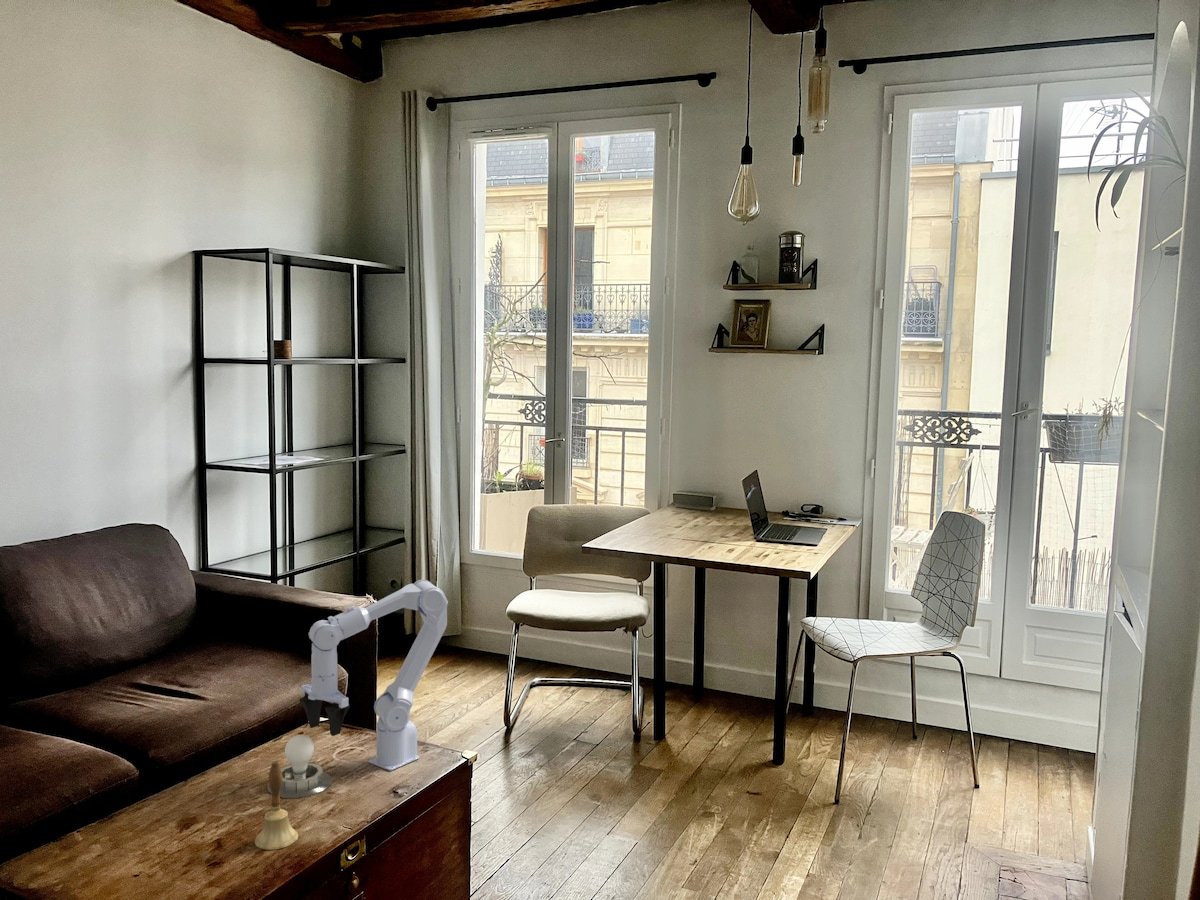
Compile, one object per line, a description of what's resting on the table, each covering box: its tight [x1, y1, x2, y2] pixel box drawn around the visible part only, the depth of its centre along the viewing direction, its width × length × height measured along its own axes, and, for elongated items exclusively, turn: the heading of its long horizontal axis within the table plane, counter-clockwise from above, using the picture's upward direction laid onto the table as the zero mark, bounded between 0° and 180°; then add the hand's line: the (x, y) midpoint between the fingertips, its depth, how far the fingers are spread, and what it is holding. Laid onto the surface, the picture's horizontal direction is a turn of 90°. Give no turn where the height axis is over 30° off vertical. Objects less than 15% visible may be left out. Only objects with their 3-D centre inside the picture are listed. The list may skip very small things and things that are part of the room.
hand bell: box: [254, 760, 299, 851], centre depth 187 cm, size 8×8×16 cm
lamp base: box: [266, 762, 333, 799], centre depth 212 cm, size 14×14×3 cm
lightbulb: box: [284, 734, 315, 780], centre depth 212 cm, size 6×6×11 cm
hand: (324, 730), depth 217 cm, fingers open, 7 cm apart
